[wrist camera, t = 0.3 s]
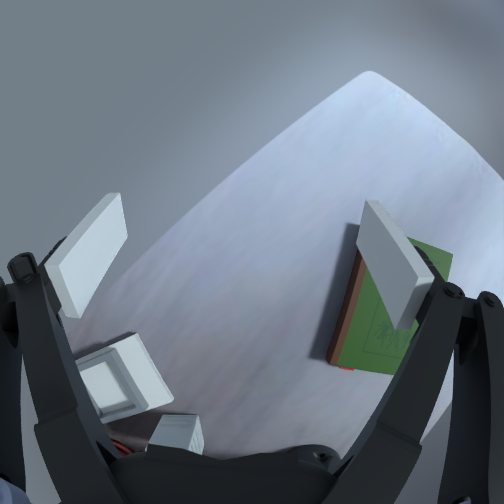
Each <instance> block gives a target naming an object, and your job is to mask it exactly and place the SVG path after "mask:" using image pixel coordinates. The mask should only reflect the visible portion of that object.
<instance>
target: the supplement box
mask: <svg viewBox="0 0 504 504" xmlns="http://www.w3.org/2000/svg"><path fill="white" fill-rule="evenodd" d="M148 443H149V444H155V445H162V446H169V447H176V448H183V449H186V450H189V451H192V452H195V453H198V454H201V455H202V451H203V447H204V441H203V436H202V431H201V426H200V421H199V416H198V415H164V414H163V415H162V417H161V419H160V421H159V423H158V425H157V427H156V429H155V431H154V433H153V435H152V437H151V439H150V440H149V442H148ZM147 445H148V444H147ZM145 451H147V446H146V448H145Z"/></svg>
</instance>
